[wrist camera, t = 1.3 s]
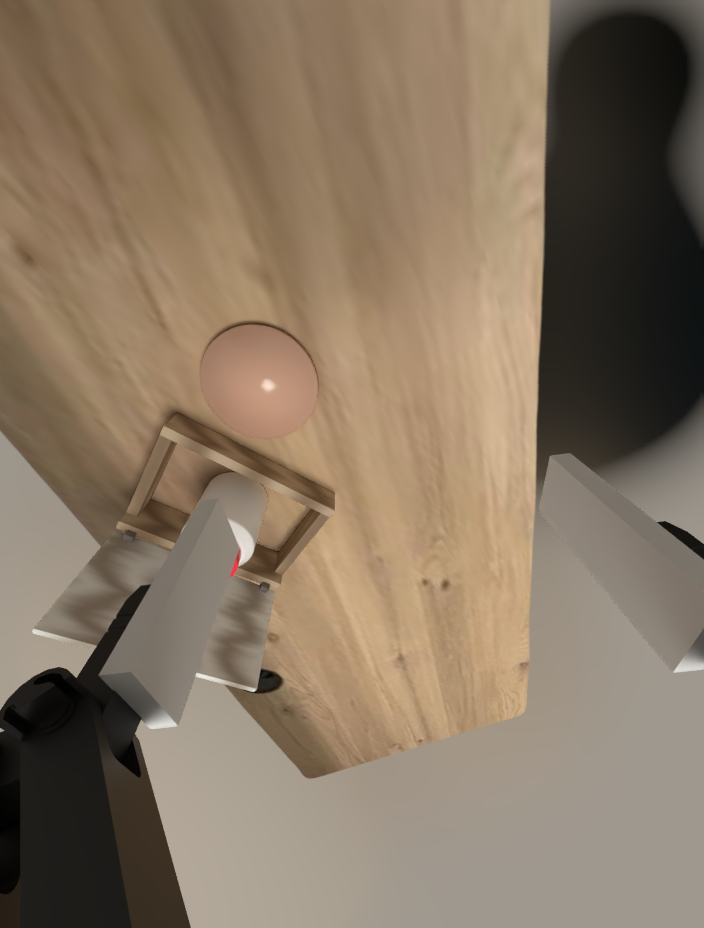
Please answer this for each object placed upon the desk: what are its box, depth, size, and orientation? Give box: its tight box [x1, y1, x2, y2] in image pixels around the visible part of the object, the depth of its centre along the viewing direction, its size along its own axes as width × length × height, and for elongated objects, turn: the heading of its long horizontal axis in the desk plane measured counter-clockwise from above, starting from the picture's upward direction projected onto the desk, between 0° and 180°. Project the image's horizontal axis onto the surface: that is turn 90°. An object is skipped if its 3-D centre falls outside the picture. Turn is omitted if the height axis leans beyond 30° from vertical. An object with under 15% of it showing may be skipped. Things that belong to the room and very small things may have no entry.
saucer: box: [200, 324, 318, 439], centre depth 35 cm, size 12×12×1 cm
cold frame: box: [32, 413, 335, 692], centre depth 36 cm, size 20×16×17 cm
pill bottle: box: [180, 472, 268, 578], centre depth 38 cm, size 8×8×11 cm
